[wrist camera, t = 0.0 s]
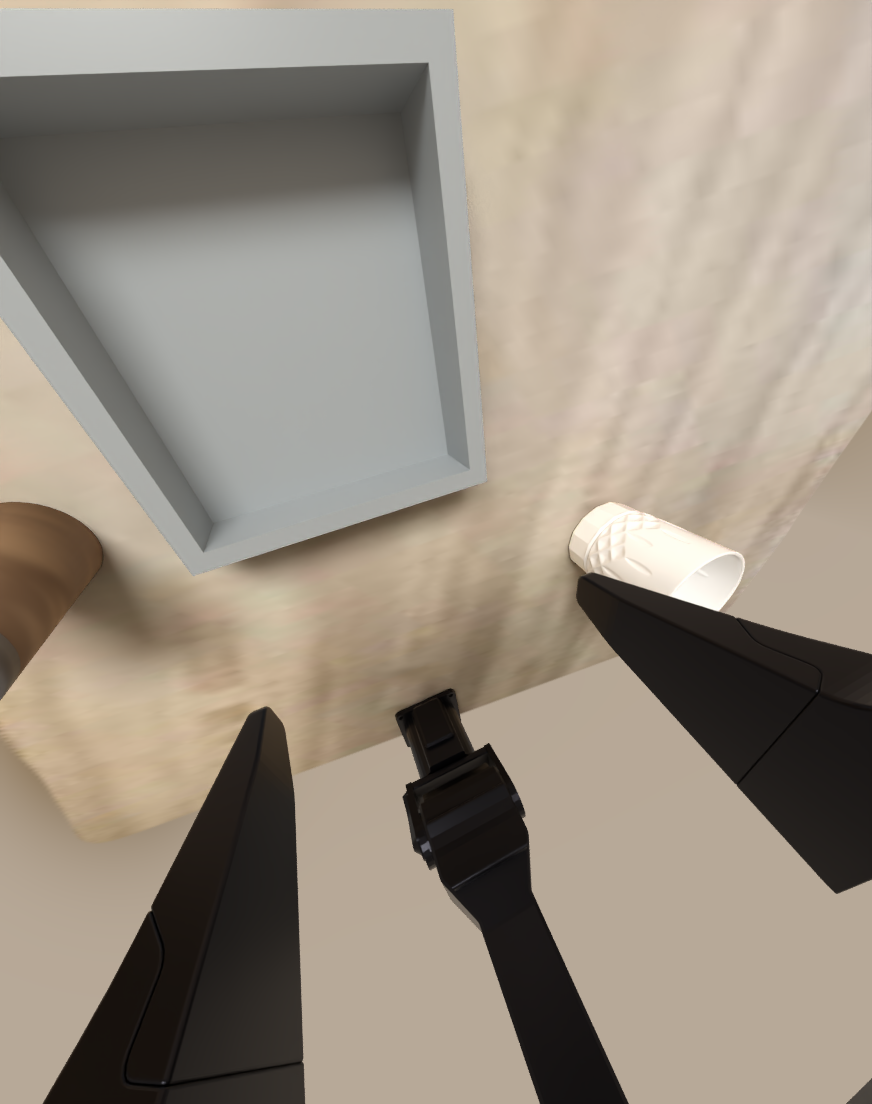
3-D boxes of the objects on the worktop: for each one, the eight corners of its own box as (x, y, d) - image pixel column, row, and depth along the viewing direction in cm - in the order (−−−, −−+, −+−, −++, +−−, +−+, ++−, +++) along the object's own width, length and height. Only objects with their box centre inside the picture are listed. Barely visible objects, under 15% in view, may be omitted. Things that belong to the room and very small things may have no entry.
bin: (458, 461, 23) (487, 481, 20) (206, 537, 20) (192, 576, 17) (413, 82, 14) (453, 8, 11) (-78, 104, 10) (-230, 8, 7)
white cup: (643, 521, 34) (753, 579, 26) (586, 581, 35) (674, 652, 28) (611, 478, 29) (733, 532, 21) (547, 549, 31) (639, 623, 23)
